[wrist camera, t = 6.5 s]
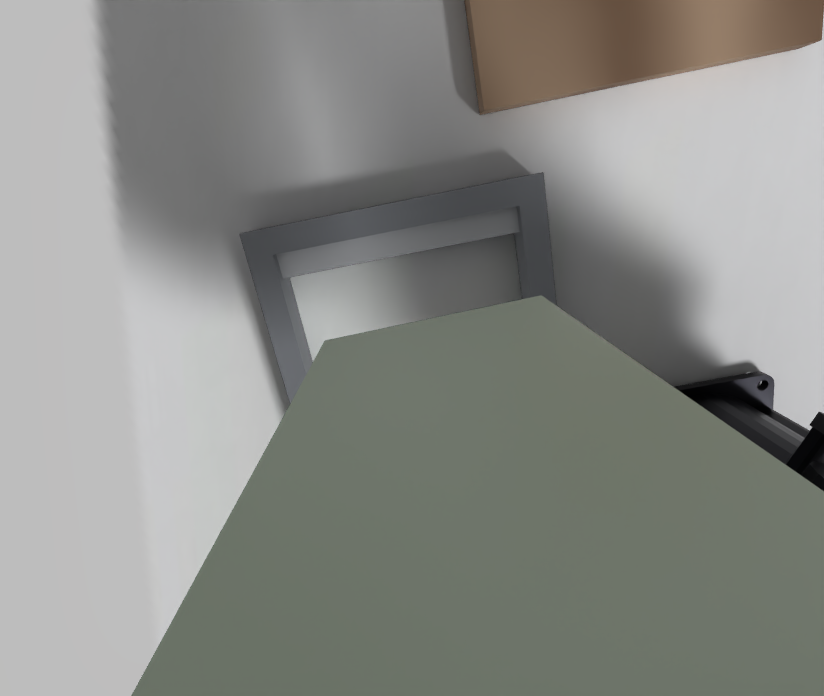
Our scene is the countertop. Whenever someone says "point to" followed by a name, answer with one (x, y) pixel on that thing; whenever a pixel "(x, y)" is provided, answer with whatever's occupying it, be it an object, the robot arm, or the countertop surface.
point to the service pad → (620, 42)
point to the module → (503, 532)
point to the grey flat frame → (393, 249)
